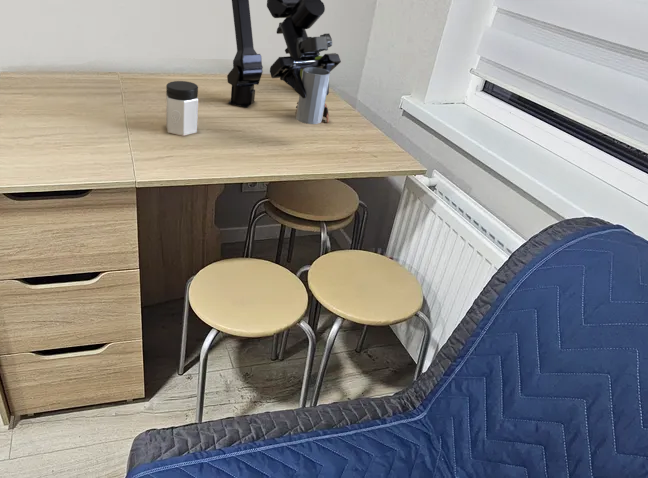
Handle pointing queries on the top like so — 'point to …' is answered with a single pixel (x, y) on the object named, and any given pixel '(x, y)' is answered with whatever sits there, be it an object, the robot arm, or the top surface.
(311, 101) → the tumbler
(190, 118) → the jar
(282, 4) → the robot arm
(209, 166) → the top surface
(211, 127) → the top surface
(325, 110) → the brown looped piece
